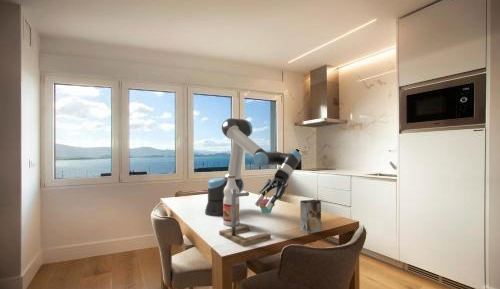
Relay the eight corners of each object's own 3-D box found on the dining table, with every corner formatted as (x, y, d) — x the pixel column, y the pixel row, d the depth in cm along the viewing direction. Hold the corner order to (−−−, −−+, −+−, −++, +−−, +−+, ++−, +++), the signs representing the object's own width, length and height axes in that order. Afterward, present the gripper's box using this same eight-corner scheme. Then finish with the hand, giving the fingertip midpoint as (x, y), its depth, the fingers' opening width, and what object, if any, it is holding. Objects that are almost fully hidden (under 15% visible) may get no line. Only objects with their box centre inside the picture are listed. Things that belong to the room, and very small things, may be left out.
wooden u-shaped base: (219, 234, 137) (219, 230, 137) (246, 228, 148) (246, 225, 148) (242, 246, 122) (242, 241, 122) (270, 238, 132) (270, 234, 132)
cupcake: (257, 210, 147) (257, 188, 147) (273, 210, 147) (273, 188, 148) (259, 214, 138) (259, 191, 138) (276, 214, 139) (276, 190, 139)
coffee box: (314, 228, 149) (314, 199, 149) (321, 231, 143) (321, 201, 143) (300, 230, 145) (300, 200, 145) (307, 233, 139) (307, 202, 139)
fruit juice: (239, 226, 153) (239, 176, 153) (222, 226, 153) (222, 176, 153) (239, 221, 162) (239, 174, 162) (224, 221, 162) (224, 174, 163)
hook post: (230, 234, 131) (230, 189, 131) (247, 231, 137) (247, 187, 137) (233, 236, 129) (233, 189, 130) (249, 232, 135) (250, 188, 136)
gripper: (301, 179, 144) (279, 214, 134) (274, 176, 161) (253, 207, 151) (294, 170, 141) (271, 205, 131) (267, 168, 158) (245, 198, 148)
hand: (261, 206), depth 141 cm, fingers closed on cupcake, 8 cm apart
